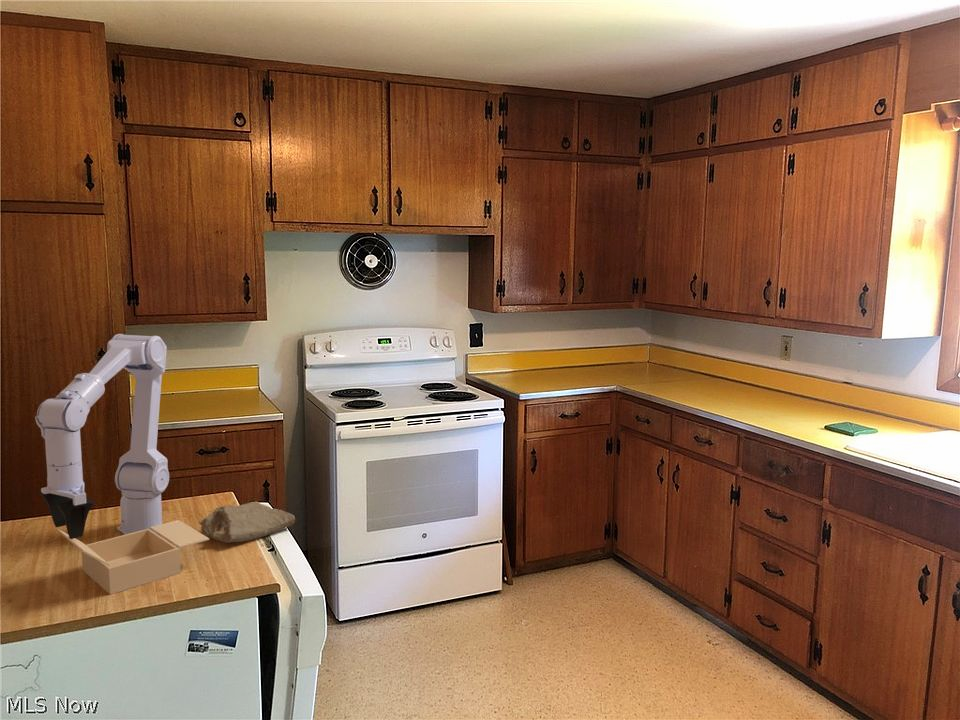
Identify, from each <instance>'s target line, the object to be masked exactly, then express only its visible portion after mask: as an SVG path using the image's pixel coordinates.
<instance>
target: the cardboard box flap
mask: <svg viewBox="0 0 960 720" xmlns="http://www.w3.org/2000/svg"><path fill="white" fill-rule="evenodd" d="M55 531H57V532H58V533H59V534H61V535H62V536H63V537H64V538H65V539H66V540H68V541H69V542H70V544H72V545H73V546H74V547H76V548H77V549H78V550H79V551H80V552H81V551H82V552H84V553H86V554H88V555H89V556H91V557H93V558H95V559H97V560H99V561H100V562H102V563H104V564H106V565H108V566H109V565H110V564H109V563H107V562H106V561H105V560H104V559H102V558H101V557H100V556H99V555H97V554H96V553H95V552H94V551H92V550H91V549H90V548H89V547H88V546H86V545H87V544H85V543H84V542H83V541H81V540H79V539H77V538H74V539H70V538H69V535H68V533H66V532H64V531H62V530H61V529H59V528H56V529H55ZM82 552H81V553H82Z"/></svg>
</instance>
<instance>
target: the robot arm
mask: <svg viewBox="0 0 960 720" xmlns="http://www.w3.org/2000/svg"><path fill="white" fill-rule="evenodd" d="M167 348H168V347H167V345H166V343H165V342H164V340H163V339H162V337H160V336H158V335H151V336H150V335H137V334H136V335H135V334H133V335H131V334H123V333H118V334H115V335H114V336H112V338H111V339H110V340H109V341H108V342H107V347H106V352H105V354H104V355H102V357H101V358H100V359H99V361H98V362H97V363H96V364H95V366H94V367H93V368H92V369H91V370H90V371H89V373H88V372H83V373H76V375H75V376H74V379H73V380H72V381H70V383H68V385H67V386H65V388H64V389H62V390H61V391H60V392H59V394H57V395H56V396H55V398H52V397H51V398H47V399H45V400H44V401H43V402H41V403H40V405H39V406H38V409H37V411H36V416H35V417H34V419H35V423H36V425H37V426H38V428H40V432H41V433H40V434H41V437H42V438H43V439H44V444H45V445H44V447H45V458H46V459H45V460H46V461H45V462H46V472H47V473H46V474H47V477H46V481H47V484H46V485H47V486H46V487H42V488H40V495H41V497H42V498H43V499H44V502H45V503H46V505H47V507H48V510H49V512H50V515H51V519H52V521H53V524H54V526H55V527H56V528H60V527H64V526H65V527H66V531H67V534H68V535H69V538H70V539H74V538H75V539H77V538H78V539H79V538H82V537H83V536H84V534H85V527H86V523H87V517H88V515H89V513H90V510H91V509H92V507H93V506H94V500H93V499H92V498H87V493H86V491H85V482H84V476H83V475H84V474H83V461H82V460H83V459H82V457H83V456H82V442H81V441H82V440H81V439H82V438H81V428H83V427H84V426H85V423H86V422H87V418H88V415H89V413H90V411H91V407H93V406H94V404H96V403H97V401H98V400H99V399H100V398H101V397H102V396H103V395H104V394H105V390H106V388H105V384H107V383H108V382H109V381H110V380H111V379H112V378H113V377H114V376H116V375H117V374H118V373H119V372H121V370H123V369H124V370H126V372H127V371H128V372H129V373H130V374H131V375H132V376H133V377H134V379H135V381H134V382H135V385H134V397H133V398H134V399H133V407H132V408H133V409H132V424H131V436H130V448H129V450H128V451H127V452H125V453H124V454H123V455H122V456H120V457H119V461H118V466H117V469H116V472H115V475H114V484H115V487H116V488H117V489H118V490H119V491H121V495H122V496H121V498H120V501H119V502H120V503H119V506H120V507H119V508H120V524H121V525H120V526H117V527H116V529H117V531H119V532H120V533H122V534H123V535H126V534H130V533H134V532H137V531H141V530H145V529H149V528H150V527H153V526H157V525H161V524H163V515H162V514H163V509H162V493H163V492H165V490H166V489H167V487H168V485H169V481H170V472H169V467H168V463H169V462H168V458H167V457H166V456H164V455H163V454H162V453H161V452H159V450H157V447H158V446H157V445H158V432H159V431H158V430H159V421H160V420H159V418H160V408H161V407H160V406H161V405H160V403H161V392H162V391H161V390H162V380H163V379H162V378H163V374H165V372H166V364H167V363H166V362H167V352H168V351H167ZM151 530H152V529H151ZM154 532H155V531H154ZM157 534H158V533H157Z"/></svg>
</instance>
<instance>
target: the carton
mask: <svg viewBox="0 0 960 720" xmlns="http://www.w3.org/2000/svg"><path fill="white" fill-rule="evenodd" d="M151 529H152V530H151ZM154 531H155V532H154ZM157 533H158V534H157ZM206 541H210V537H208V536H206V535H205V534H203V533H201V532H199V531H198V530H196V529H195V528H193V527H191V526H189V525H188V524H186V523H184V522H183V521H181V520H180V519H176V520H173V521H169V522H166V523H162V524H161V525H157V526H153V527H150V528H149V529H145V530H141V531H137V532H134V533H130V534H126V535H125V534H123V535H122V534H121V535H119V536H114V537H110V538H105V539H103V540H99V541H96V542H95V541H94V542H92V543H87V544H85V545H86V546H88V547H89V548H90V549H91V550H92V551H94V552H95V553H96V554H97V555H99V556H100V557H101V558H102V559H104V560H105V561H106V562H107V563H109V564H110V565H109V566H108V565H106V564H104V563H102V562H100V561H99V560H97V559H95V558H93V557H91V556H89V555H88V554H86V553H84V552H82V551H81V550H80V552H81V564H82V571H83V572H84V573H85V574H86V575H88V577H90V578H91V579H92V580H93V581H94V582H95V583H97V584H98V585H99V586H100V587H101V588H102V589H103V590H104V591H105V592H107V593H108V595H110V596H111V595H114V594H117V593H120V592H124V591H127V590H130V589H133V588H137V587H139V586H143V585H146V584H149V583H152V582H156V581H158V580H162V579H165V578H168V577H173V576H174V575H179V574H181V573H182V569H181V568H182V566H181V565H182V564H181V549H182V548H186V547H189V546H192V545H197V544H199V543H202V542H206Z"/></svg>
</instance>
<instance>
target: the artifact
mask: <svg viewBox="0 0 960 720" xmlns="http://www.w3.org/2000/svg"><path fill="white" fill-rule="evenodd" d="M295 522H296V518H295V515H294V514H292V513H290V512H287V511H284V510H282V509H278V508H271V507H270V506H269V505H265V504H262V503H261V502H259V501H252V502H247V503H244V504H240V505H231V504H230V505H221V506H219V507H216V508H215V509H214V511H213V512H211V513H210V514H208V515H207V516H206V517H204V518H203V519H202V520H200V521H198V523H199V525H201V527H200V530H201V532H202V533H204V534H203V535H204V536H206V537H208V538H212V539H214V540H215V541H217V542H218V541H219V542H223V543H239V542H248V541H251V540H252V541H253V540H257V539H259V538H262V537H266V536H268V535H272V534H274V533H276V532H279V531H281V530H284V529H286V528H288V527H291V526H292V525H294V524H295Z"/></svg>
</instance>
